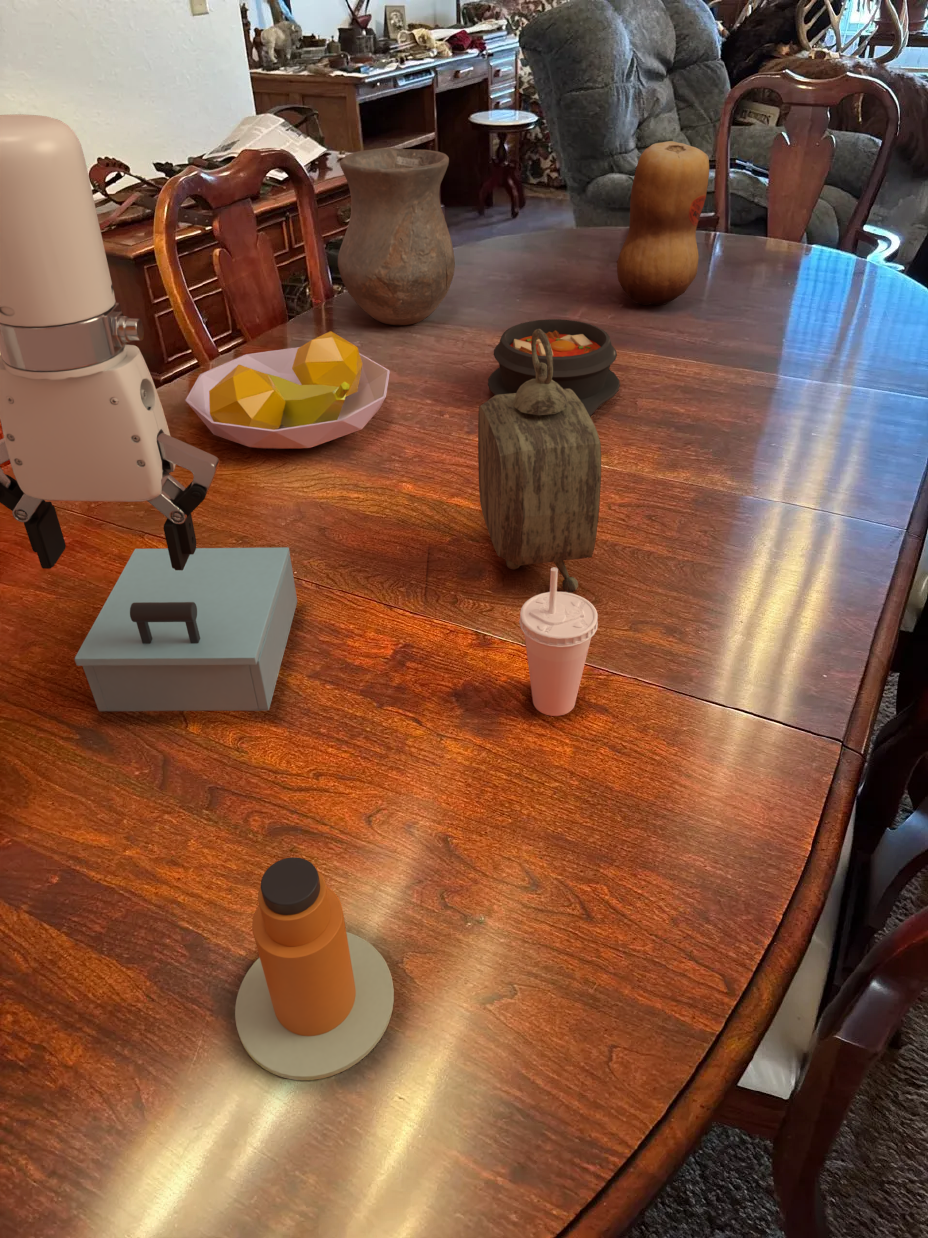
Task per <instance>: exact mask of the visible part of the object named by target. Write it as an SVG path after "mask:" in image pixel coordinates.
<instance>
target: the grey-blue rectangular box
mask: <svg viewBox="0 0 928 1238" xmlns="http://www.w3.org/2000/svg"><path fill="white" fill-rule="evenodd" d="M297 605H298V597H297V589H296V583H295V578H294V571H293V565H292V558H291V554H290V555H289V559H288V562H287V565H286V568H285V572H284V575H283V578H282V582H281V585H280V588H279V592H278V595H277V598H276V602H275V605H274V608H273V612H272V615H271V618H270V622H269V625H268V628H267V631H266V635H265V638H264V641H263V645H262V648H261V651H260V655H259V658H258V661H257V664H256V665H134V666H82V668H83V671H84V674H85V677H86V680H87V683H88V685H89V688H90V691H91V693H92V697H93V699H94V703H95V705H96V707H97V710H98V712H208V711H211V712H221V711H222V712H225V711H226V712H234V711H236V712H237V711H239V712H240V711H241V712H243V711H246V712H248V711H249V712H251V711H253V712H254V711H256V712H257V711H270V708H271V704H272V701H273V697H274V693H275V689H276V684H277V681H278V677H279V673H280V671H281V665H282V661H283V658H284V655H285V650H286V646H287V643H288V638H289V635H290V631H291V628H292V623H293V620H294V615H295V612H296V608H297Z"/></svg>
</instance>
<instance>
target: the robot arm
mask: <svg viewBox="0 0 928 1238" xmlns="http://www.w3.org/2000/svg"><path fill="white" fill-rule="evenodd" d="M88 171H89V170H88V167H87V162H86V157H85V155H84V150H83V147H82V144H81V142H80V139H79V137H78V135H77V134H76V132H75V131H74V130H73V129H72V128H71V126H70V125H68V124H67V123H65V122H64V121H62V120H60V119H58V118H54V117H51V116H46V115H39V114H21V113H20V114H18V113H17V114H15V113H13V114H0V425H1V430H2V436H3V438H1V439H0V465H2V464H4V463H6V462H8V461H9V463H10V466H11V469H12V472H13V475H14V477H15V478H14V477H12V475H9V474H6V473H5V472H4V470H3V468H2V467H1V466H0V504H1V505H2V506H4V507H6V508H7V509H9V510H10V511H12V517H13V518H14V519H15V520H16V521H17V522H20V523H23V524H24V528H25V531H26V535H27V537H28V541H29V543H30V547H31V550H32V552H33V553H36V554H37V557H38V561H39V563H40V567H41V569H45V570H47V569H48V570H51V569H52V568H53V567H55V565H56V564H57V562H58V561H59V559H60V557H61V556H62V554H63V553H64V551H65V550H66V547H67V544H66V540H65V538H64V534H63V531H62V527H61V524H60V521H59V517H58V514H57V511H56V507H55V505H53V504H52V503H53V502H54V501H55V502H59V501H60V502H119V503H122V502H123V503H125V502H130V503H131V502H134V503H135V502H148V504H150V505H151V506H153V508H155V509H156V510H157V511H158V512H159V513H161V514H162V515H163V516H164V517H165V518H166V519H165V520H166V521H165V522H164V524H163V532H164V537H165V541H166V542H165V543H166V546H167V547H166V548H168V551H169V556H170V561H171V565H172V568H174V569H175V570H183V569H184V567H185V564H186V562H187V560H188V558H189V556H190V554H194V552H195V550H196V548H197V537H196V532H195V526H194V522H193V517H192V513H193V512H194V511H195V510H196V509H197V508H198V507H199V506H200V504H202V503H203V502H204V500H205V499H206V497H207V495H208V492H209V491H210V489H211V485H212V483H213V480H214V478H215V476H216V473H217V472H218V469H219V466H220V459H219V458H218V457H217V456H216V455H214V454H211V453H209V452H207V451H205V450H202V449H200V448H198V447H196V446H193V445H191V444H189V443H187V442H185V441H182V440H180V439H178V438H176V437H174V436H172V435H171V433H170V429H169V426H168V422H167V419H166V416H165V412H164V409H163V406H162V403H161V399H160V396H159V393H158V390H157V388H156V386H155V382H154V379H153V378H152V375H151V372H150V370H149V368H148V365H147V363H146V360H145V358H144V356H143V354H142V352H141V350H140V348H139V347H138V346H136V345H134V344H127V343H131V342H132V341H142V340H143V339H144V334H145V333H144V325H143V321H142V320H141V319H140V318H130V317H129V316H128V315H127V316H125V315H124V314H123V311H122V309H121V303H120V302H117V301H116V295H115V291H114V286H113V282H112V278H111V273H110V268H109V264H108V260H107V254H106V249H105V245H104V240H103V236H102V231H101V226H100V221H99V217H98V211H97V208H96V203H95V198H94V194H93V189H92V185H91V180H90V175H89V172H88ZM176 466H179V467H181V468H183V469H185V470H187V471H189V472H190V473H192V475H193V479H192V481H191V482H190V483H189V484H188V486H186V487H185V486H184V485H183V484H182V483H181V482H180V481H179V480H177V479H176V478H175V477H174V476H173V475H172V474H171V473H174V472H175V469H176ZM52 501H53V502H52Z"/></svg>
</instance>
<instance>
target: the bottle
mask: <svg viewBox="0 0 928 1238" xmlns="http://www.w3.org/2000/svg"><path fill="white" fill-rule="evenodd" d="M257 902H258V905H257V907H256V908H255V911H254V914H253V917H252V922H251V923H252V925H251V928H252V934H253V938H254V941H255V946H256V949H257V952H258V958H259V957H260V960H261V964H262V968H263V971H264V975H265V979H266V982H267V986H268V990H269V993H270V997H271V1001H272V1004H273V1008H274V1012H275V1015H276V1017H277V1019H278V1021H279V1022H280V1023H281V1025H282V1026H283V1027H284V1028H286V1029H287V1030H289V1031H291V1032H292V1033H295V1034H298V1035H302V1036H316V1035H321V1034H324V1033H326V1032H329V1031H331V1030H333V1029H334V1028H336V1027H337V1026H338V1025H340V1024H341V1023H342V1022H343V1021H344V1020H345V1019H346V1017H347V1016H348V1015H349V1013H350V1012H351V1010H352V1007H353V1005H354V1002H355V996H356V989H355V982H354V976H353V970H352V964H351V958H350V952H349V946H348V940H347V934H346V932H347V929H346V921H345V917H344V910H343V905H342V902H341V900H340V898H339V897H338V895H337V893H336V892H335V891H334V890H333V889H331V888H330V887H329V886H327V883H326V880H325V877H324V876H323V875H322V874H321V872H320V871H319V870H317V867H316V866H315V865H314V864H313V863H312V862H311V861H309V860H307V859H305V858H302V857H296V856H294V857H285V858H282V859H279V860H277V861H276V862H273V864H271V865H269V867H268V868H267V869H266V870H265V871H264V873H263V875H262V877H261V880H260V885H259V889H258V892H257Z"/></svg>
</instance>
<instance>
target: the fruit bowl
mask: <svg viewBox="0 0 928 1238" xmlns="http://www.w3.org/2000/svg"><path fill="white" fill-rule="evenodd" d="M390 373H391V370H390V369H389V368H386V367H384V366H383V365H381V364H380V363H379V362H376V361H374V360H373V359H370V357H368V356H366V355H364V354H362V353H360V351H359V347H358V346H356V345H355V344H353V343H352V342H350V341H348V340H346V339H345V338H343V337H341V336H340V335H338V334H336V333H335V332H333V331H332V330H330V331H328V332H326V333H324V334H321V335H319V336H317V337H315V338H313V339H311V340H309V341H308V342H306V343H305V344H303V345H301V346H298V347H297V346H296V347H288V348H283V349H275V350H268V351H261V352H260V351H259V352H253V353H246V354H243V355H240V356H238V357H236V358H234V359H231V360H228V361H227V362H225V363H222V364H219V365H218V366H215V367H213V368H211V369H209V370H206V371H204V372H202V373H200V374H199V375H198V377H197V379H196V380H195V382H194V384H193V386H192V387H191V389H190V391H189V393H188V394H187V397H186V398H185V399H184V401H185V402H186V403H187V404H188V406H189V407H190V408H191V410H192V411H193V412H194V413H195V414H196V415H197V416H198V418H199V419H200V420H201V422H202V423H203V424H204V425H205V426H206V427H207V429H208V430H209V431H210V432H211V433H212V434H213V436H216V437H220V438H222V439H225V440H227V441H231V442H233V443H237V444H240V445H242V446H245V447H248V448H254V449H263V450H264V449H265V450H266V449H267V450H289V449H292V450H293V449H311V448H313V447H317V446H320V445H322V444H326V443H328V442H330V441H331V442H332V441H334V440H336V439H339V438H342V437H344V436H347V435H350V434H352V433H355V432H358V431H361V430H363V429H364V428H365V427H366V425H367V424H368V423H369V422H371V419H373V417H375V415H376V414H377V413H378V411H380V409H381V408H382V406H383V404H384V402H385V400H386V397H387V392H388V387H389V380H390Z"/></svg>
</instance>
